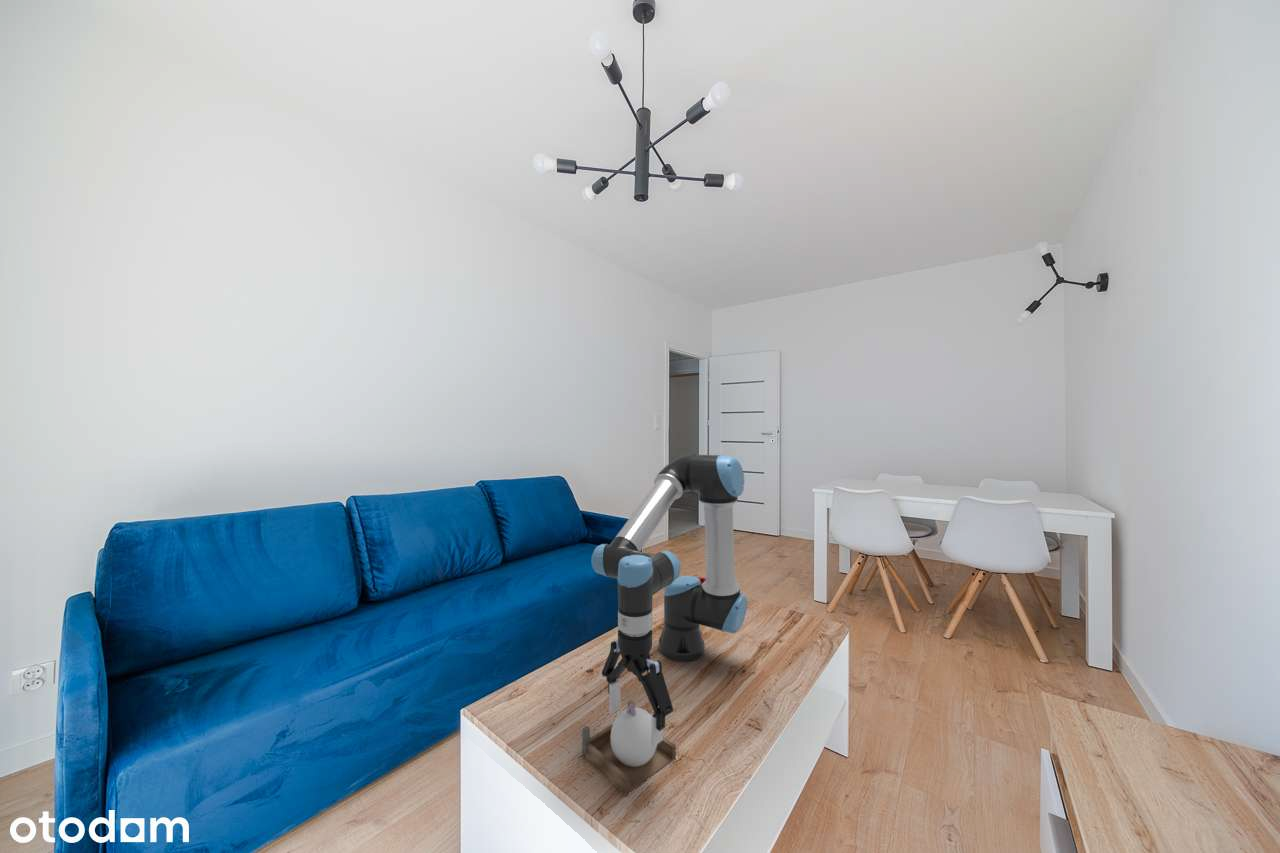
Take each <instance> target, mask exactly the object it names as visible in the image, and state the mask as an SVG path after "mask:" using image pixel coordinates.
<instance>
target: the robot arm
mask: <svg viewBox="0 0 1280 853" xmlns="http://www.w3.org/2000/svg"><path fill="white" fill-rule="evenodd" d="M744 485H745V475H744V471H743V466H742V464H741V462H740V461H739V460H738V458H736V457H733V456H728V455H723V454H722V455H721V454H720V455H719V454H694V453H692V454H691V453H690V454H685V455H681V456H680V457H678V458H675V459H674V460H672V461H670V462H669V463H668V464H666V465H665V466H664V467H663V468H662V469H661V470H660V471H659V473H657V475H656V476H655V478H654V482H653V486H652V487H651V488H650V490H649V491H648V493H647V494H646V496H645V497H644V498H643V499H642V501H641V502H640V504H639V505H638V506H637V508H636V509H635V510H634V512H633V513H632V514H631V515H630V517H629V518H628V519H627V521H626V522H625V523H624V525H623V527H622V528H621V529H620V531H618V533H617V534H616V536H615V537H614V538H613V540H612V541H611V542H610V544H608V543H601V544H600V545H597V546H596V547H595V549H594V550H593V553H592V554H591V567H592V569H593V570H594V572H595V573H596V574H598V575H602V576H604V577H607V578H613V579H616V581H617V600H618V603H617V604H618V606H617V609H618V610H617V628H618V631H617V639H616V640H613V641H612V642H611V643H610V648H609V649H610V651H609V653H608V656H607V657H606V661H605V663H604V666H603V668H602V671H601V675H602V677H606V681H607V684H608V685H607V686H608V689H607V690H608V691H607V694H608V695H609V696H608V698H609V700H608V701H609V703H608V704H609V711H608V712H609V714H611V715H612V714H614V713H616V712H617V711H619V710H620V709H621V680H620V679H619V678H620V676H621V675H622V674H623V673H624V671H627V672H629V673H632V674H633V675H634V676H636V677H637V678H636V679H637V680H638V682H639V683H641V684H642V687H643V689H644V691H645V694H646V696H647V699H648V700H649V703H650V705H651V707H652V708H651V709H652V711H653V712H651V713H650V715H651V745H653V746H656V745H657V744H658V743H660V742H661V741H662V740H663V736H664V729H665V727H666V717H667V716H669V715H670V714H671V713H673V712H674V708H673V707H674V706H673V703H672V700H671V698H670V694H669V691H668V690H669V689H668V687H667V684H666V680H665V677H664V673H663V666H662V665H663V664H662V661H661V660H660V659H658V660H656V661H654V660H652V658H651V654H650V653H651V650H652V649H653V648H652V647H653V596H654V595H655V594H657V593H658V592H659V591H661V590H663V589H664V592H663V600H664V601H663V605H664V606H663V607H664V608H663V627H662V630H661V633H660V637H659V639H658V652H659V653H660V654H661V655H662V656H663V658H666V659H667V660H671V661H676V662H679V663H680V662H681V663H682V662H684V663H687V662H693V661H696V660H699V659H701V658H702V657H703V656H704V655H705V651H706V649H705V647H706V646H705V641H704V639H703V636H702V631H701V626H703V627H707V628H711V629H714V630H718V631H721V632H722V633H729V634H737V632H739V630H741V628H742V626H743V625H744V624H743V623H744V622H745V618H746V615H747V610H748V597H747V595H746V594H744V593H741V586H740V584H739V583H738V582H737V581H736V578H735V577H736V576H735V574H736V573H735V547H734V546H735V545H734V544H735V543H734V541H735V538H734V509H733V508H734V505H735V504H736V503H737V502H738V500H739V499H738V497H740V496H741V495H742V494H743V492H744V489H745V488H744ZM687 492H689V493H690V492H692V493H698V501H699V502H700V503H701V504H702V506H703V509H704V510H703V512H704V514H703V515H704V541H705V542H704V544H705V567H706V568H705V570H706V571H705V572H706V573H705V574H706V576H705V577H706V578H707V580H706V581H704V582H703V584H702V585H700V584H701V582H700V579H699V578H697V577H698V576H694V575H680V574H681V569H682V568H681V567H682V566H681V562H680V560H679V558H678V557H677V555H676V554H675V553H673V552H671V551H669V550H663V551H659V552H656V553H651V552H650V553H649V552H644V551H642V550H643V548H644V546H646V543H647V542H648V540H649V539H650V538H651V536H652V535H653V533H654V532H655V530H656V529H657V527H658V525H660V522H662V520H663V518H664V517H665V515H666V513H667V512H668V510H670V507H671V506H672V505H673V503H674V501H675V500H678V499H680V498H681V497H682V496H683V494H685V493H687ZM620 656H621V658H620V660H619V657H620ZM618 660H619V662H618ZM646 672H647V673H646ZM645 673H646V674H645ZM643 674H645V675H643Z"/></svg>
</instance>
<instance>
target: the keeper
mask: <svg viewBox="0 0 1280 853" xmlns="http://www.w3.org/2000/svg"><path fill="white" fill-rule="evenodd" d="M631 703H632V704H633V705H634V707H635V708H636V705H635V701H634V700H629V701H627V707H628V706H629V704H631ZM612 726H613V723H612V724H611V725H609V726H607V727H605V728H604V729H602V730H600V731H599V732H597V733H596V734H594V735H593V736H590V735H591V734H590V732H591V729H590V726H587V725H586V726H583V727H582V732H581V733H582V736H581V737H582V738H581V739H582V743H581V744H582V745H581V748H582V749H581V752H582V753H581V756H582V757H583V758H586V759H587V760H588V761H589V762H590V763H591V765H593V766H594V767H595V768H596V769H597V770H598V771H599V770H600V771H601V772H602V773H603V774H604V775H605V778H606V779H608V778H609V779H610V780H611V781H612V782H613V783H614V784H615V785H616V786H617V787H618V788H620V789H621V791H622V792H623V793H624V794H626V795H628V794H629V793H630V792H631V793H633V792H634V791H635V790H636V788H637V787H638V788H639V787H640V786H642V785H643V784H644V783H646V782H647V781H648V780H649V779H648V778H650V777H651V776H652V777H654V776H655V775H656V774H657V773H659V772H660V771H661V770H663V769H664V768H665V767H666V766H668V765H669V764H670V763H671V762H673V761H674V760H675V759H676V756H677V753H676V752H677V751H676V748H677V746H676V744H675V743H674V742H672V741H670V740H669V739H668V738H666V737H665V736H664V735H663V740H662V741H661V742H660V743H658V744H657V747H656V750H655V753H654V755H653V756H652V758H651V759H650V760H649V761H648V762H647V763H645V764H644V765H641V766H638V767H631V766H627V765H625V764H623V763H622V762H620V761H619V760H618V759H617V757H616V756H615V754H614V752H613V750H612V747H611V739H610V737H611V729H612ZM600 771H599V772H600ZM601 772H600V773H601ZM602 773H601V774H602ZM655 773H656V774H655ZM603 774H602V775H603ZM654 774H655V775H654ZM604 775H603V776H604ZM652 777H651V778H652ZM651 778H650V779H651ZM609 779H608V780H609ZM647 779H648V780H647ZM610 780H609V781H610ZM646 780H647V781H646ZM611 781H610V782H611ZM645 781H646V782H645ZM612 782H611V783H612ZM613 783H612V784H613ZM642 783H643V784H642ZM614 784H613V785H614ZM641 784H642V785H641ZM615 785H614V786H615ZM616 786H615V787H616ZM617 787H616V788H617ZM618 788H617V789H618ZM638 788H637V789H638ZM634 789H635V790H634ZM633 790H634V791H633ZM621 791H620V792H621ZM632 791H633V792H632ZM622 792H621V793H622ZM623 793H622V794H623ZM631 793H630V794H631ZM624 794H623V795H624ZM630 794H629V795H630ZM629 795H628V796H629Z"/></svg>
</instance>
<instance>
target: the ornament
mask: <svg viewBox="0 0 1280 853" xmlns="http://www.w3.org/2000/svg"><path fill="white" fill-rule="evenodd" d="M612 724H613V726H612V729H611V737H610V739H611V747H612V750H613V752H614V754H615V756H616V757H617V759H618V760H619V761H620V762H622V763H623V764H625V765H627V766H631V767H638V766H641V765H644V764H645V763H647V762H648V761H649V760H650V759H651V758H652V756H653V755H654V753H655V750H656V747H657V745H656V746H653V745H651V713H649V712H648V711H647V710H646V709H644V708H641V707H636V706H635V707H634V705H633V704H632V703H631V704H629V706H628V705H627V708H626V709H624V710H622V711H621V712H619V714H618V715H617V716H616V717H615V720H614V722H613V723H612Z"/></svg>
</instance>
